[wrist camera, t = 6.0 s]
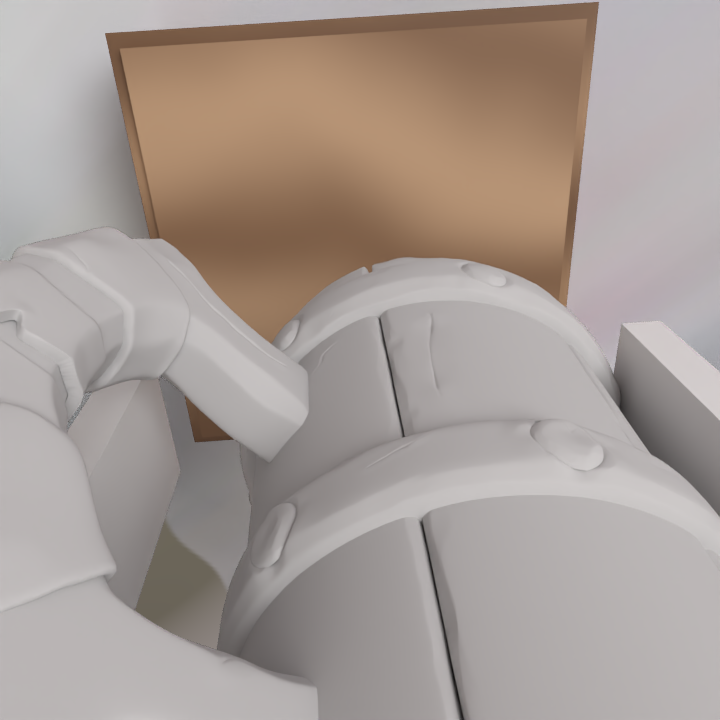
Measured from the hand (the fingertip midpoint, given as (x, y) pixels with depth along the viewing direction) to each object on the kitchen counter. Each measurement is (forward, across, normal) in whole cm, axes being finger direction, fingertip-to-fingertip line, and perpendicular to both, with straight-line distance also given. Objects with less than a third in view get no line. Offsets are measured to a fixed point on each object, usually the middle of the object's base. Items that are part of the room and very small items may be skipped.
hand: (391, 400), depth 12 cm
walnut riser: (+15, 0, 0) cm, 15 cm away
